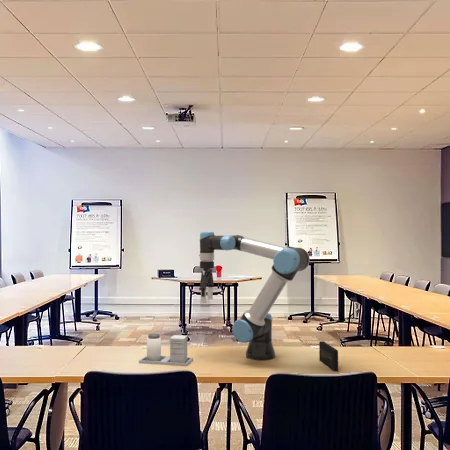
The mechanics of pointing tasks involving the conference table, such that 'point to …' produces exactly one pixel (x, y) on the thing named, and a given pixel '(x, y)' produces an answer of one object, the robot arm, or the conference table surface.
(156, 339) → the bottle
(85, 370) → the conference table surface
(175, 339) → the supplement box
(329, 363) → the nameplate
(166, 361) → the grey divided tray
